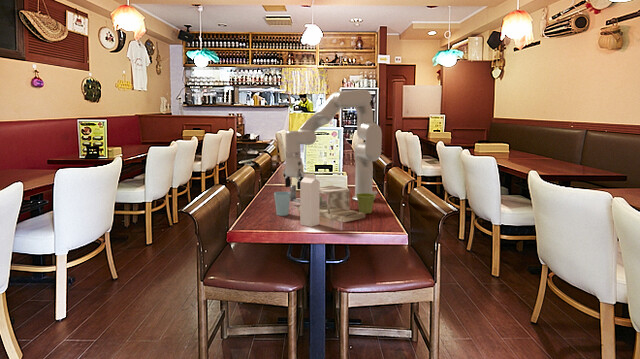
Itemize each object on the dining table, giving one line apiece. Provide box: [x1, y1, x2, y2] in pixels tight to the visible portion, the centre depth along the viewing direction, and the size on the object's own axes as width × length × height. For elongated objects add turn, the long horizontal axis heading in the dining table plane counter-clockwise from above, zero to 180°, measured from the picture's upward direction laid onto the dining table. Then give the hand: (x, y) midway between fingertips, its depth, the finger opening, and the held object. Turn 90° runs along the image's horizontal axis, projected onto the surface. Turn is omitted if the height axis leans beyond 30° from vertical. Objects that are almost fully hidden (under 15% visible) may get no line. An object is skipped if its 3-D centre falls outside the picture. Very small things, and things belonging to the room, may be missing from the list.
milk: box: [299, 173, 321, 228], centre depth 200 cm, size 6×6×22 cm
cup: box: [273, 191, 291, 217], centre depth 219 cm, size 8×8×10 cm
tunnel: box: [297, 185, 366, 223], centre depth 221 cm, size 32×14×12 cm, turn 43°
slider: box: [289, 184, 328, 207], centre depth 235 cm, size 22×9×8 cm, turn 43°
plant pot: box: [356, 193, 377, 215], centre depth 225 cm, size 9×9×9 cm
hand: (294, 187), depth 241 cm, fingers open, 9 cm apart
